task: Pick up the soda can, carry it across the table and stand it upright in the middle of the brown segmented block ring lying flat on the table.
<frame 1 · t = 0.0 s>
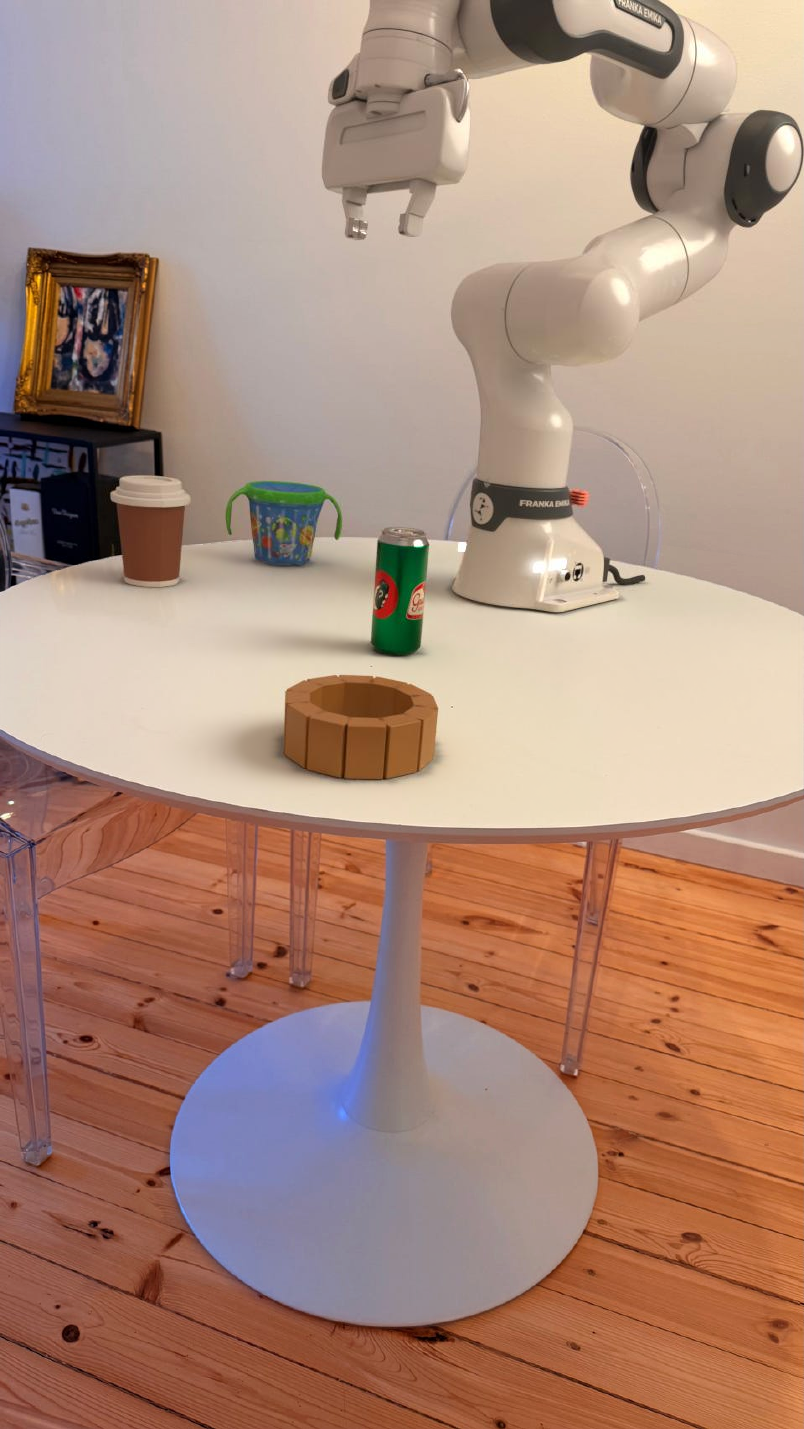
hand: (381, 237, 100), 39 cm above the table, tool pointing down, fingers open, 8 cm apart
soda can: (395, 651, 100), on the table
brown segmented block ring: (358, 748, 75), on the table
coffee cup: (151, 582, 119), on the table
snack cup: (282, 563, 135), on the table
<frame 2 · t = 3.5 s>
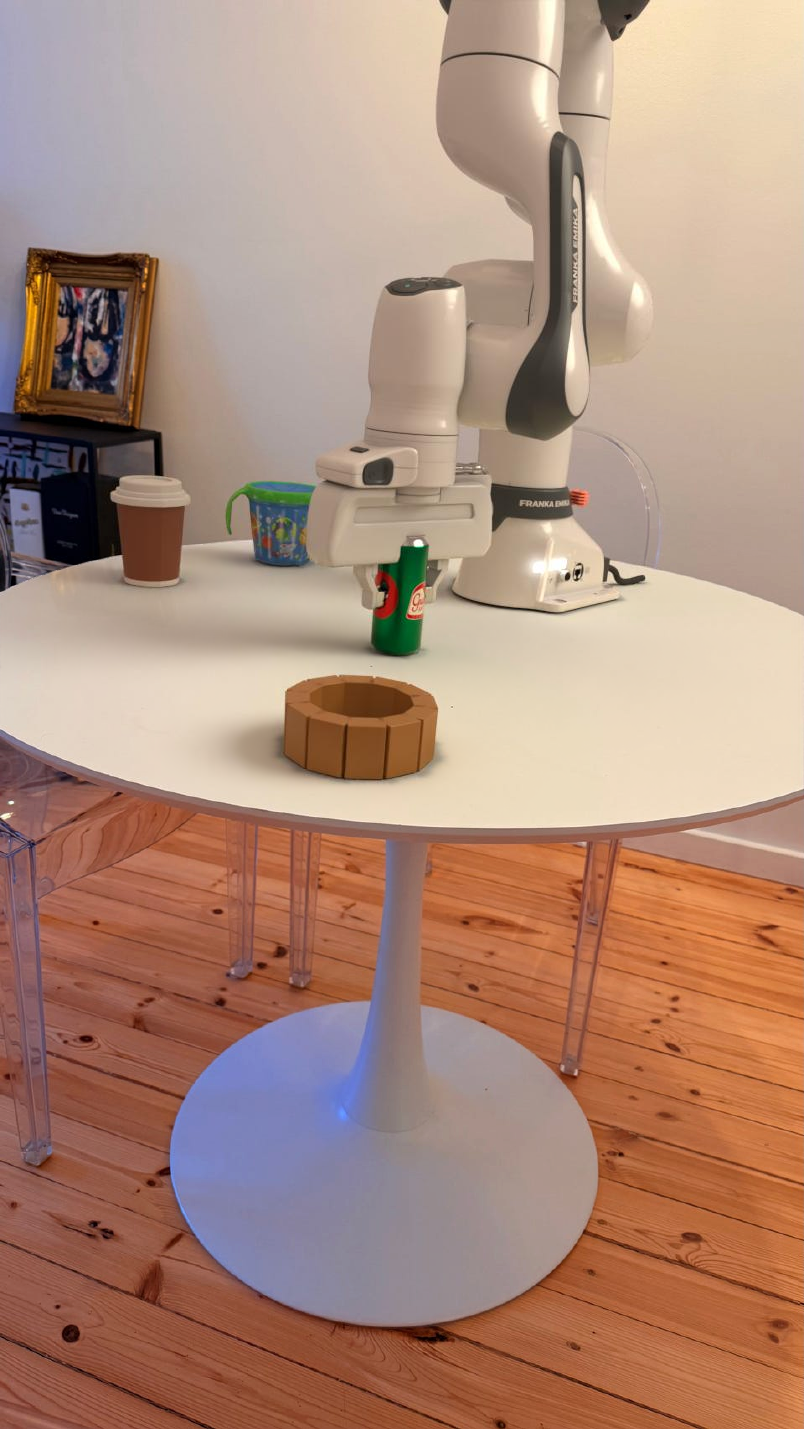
hand: (398, 605, 98), 5 cm above the table, tool pointing down, fingers closed on soda can, 5 cm apart
soda can: (395, 651, 100), on the table, touching gripper
everything else where it was.
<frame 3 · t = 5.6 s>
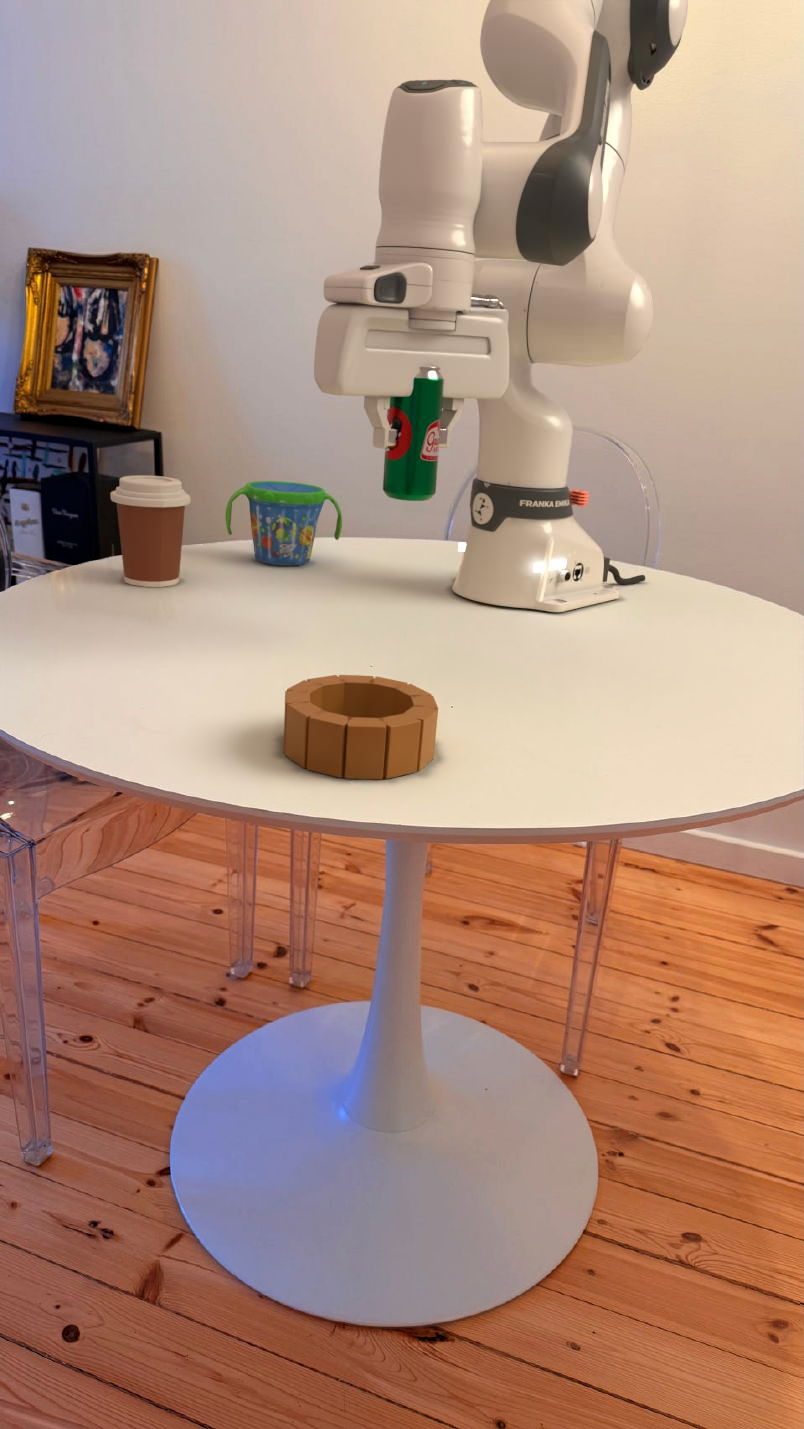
hand: (411, 447, 93), 20 cm above the table, tool pointing down, fingers closed on soda can, 5 cm apart
soda can: (408, 499, 95), point 15 cm above the table, touching gripper
everything else where it was.
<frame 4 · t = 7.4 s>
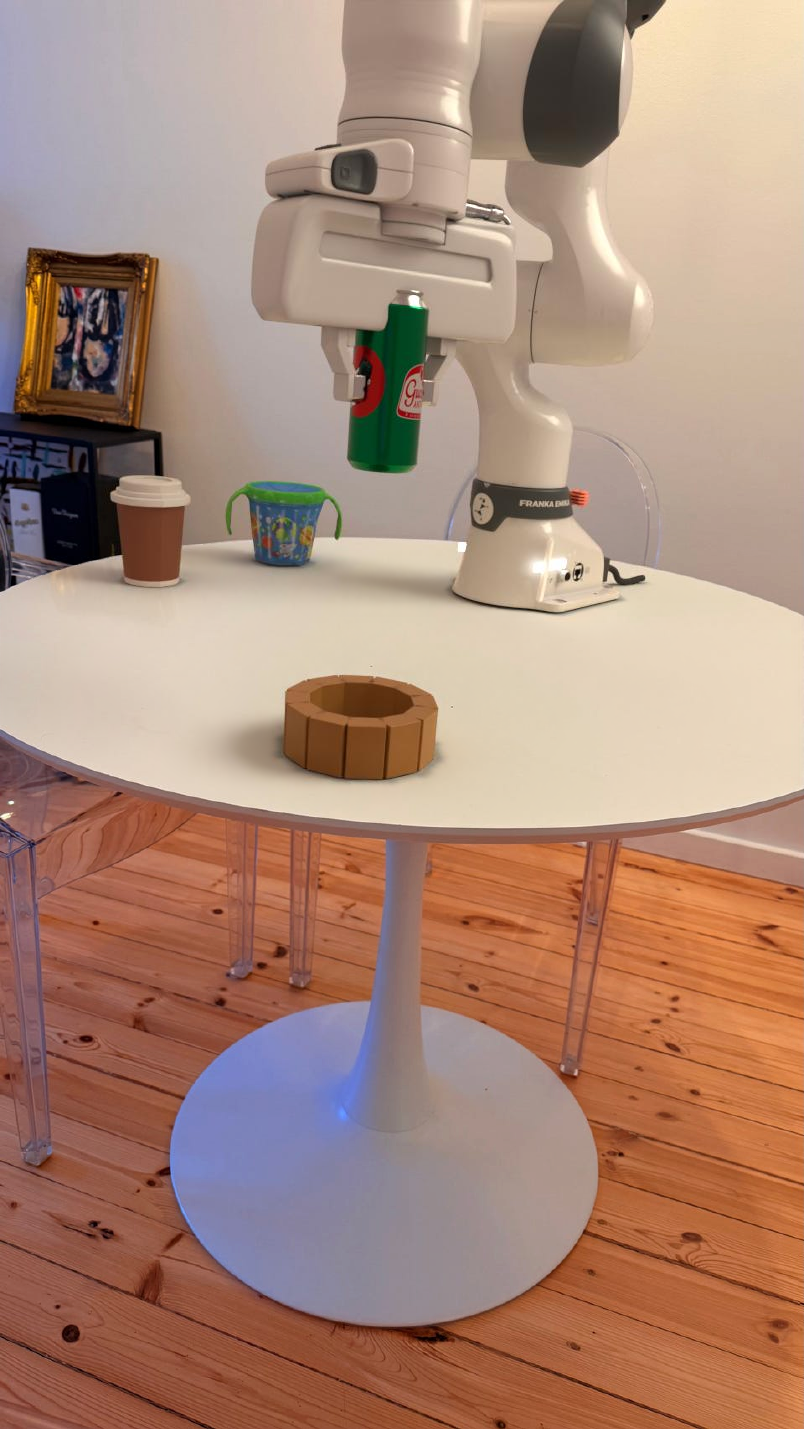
hand: (385, 403, 70), 25 cm above the table, tool pointing down, fingers closed on soda can, 5 cm apart
soda can: (381, 472, 72), point 20 cm above the table, touching gripper
everything else where it was.
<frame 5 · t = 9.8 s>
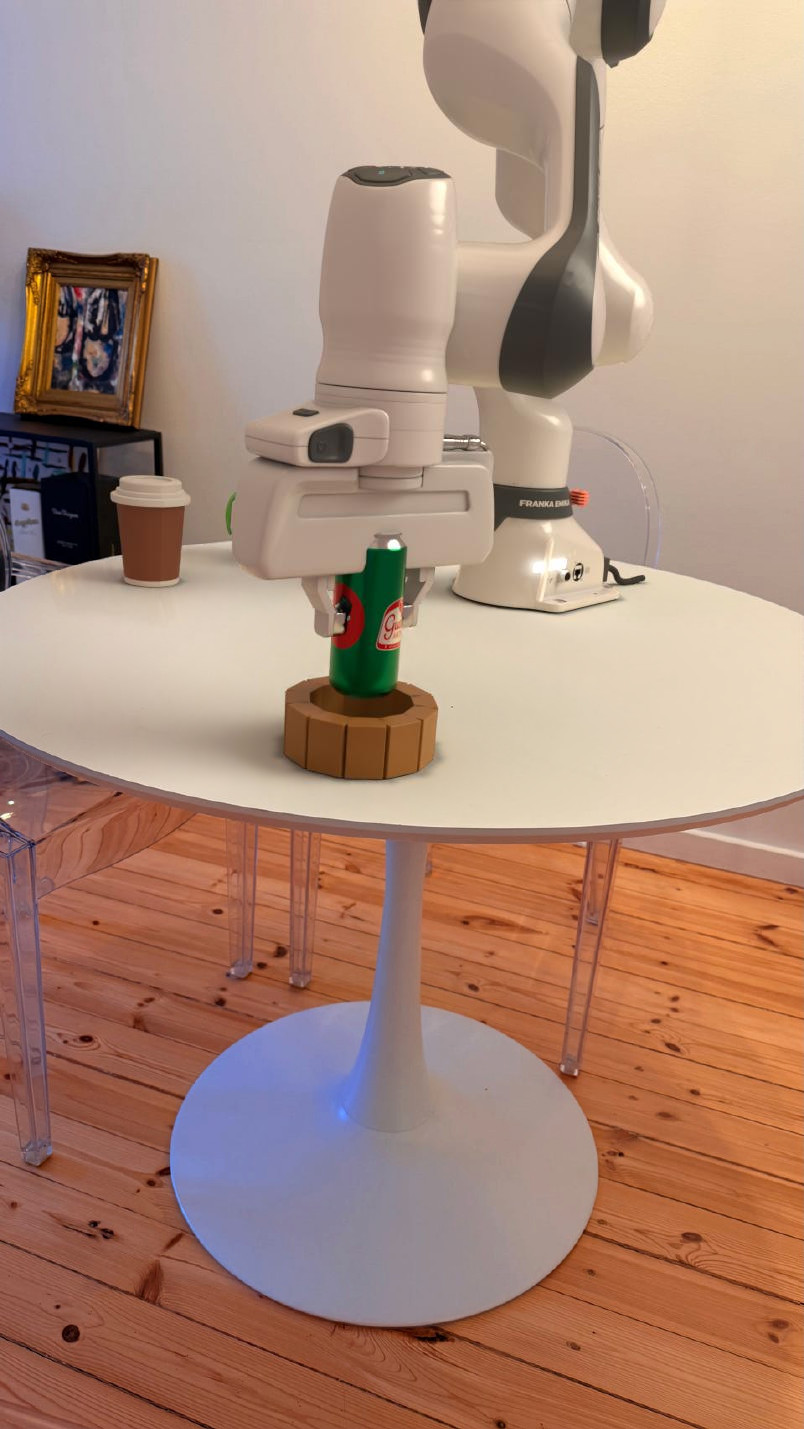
hand: (366, 630, 72), 9 cm above the table, tool pointing down, fingers closed on soda can, 5 cm apart
soda can: (362, 692, 73), point 4 cm above the table, touching gripper
everything else where it was.
when the fingers open (5 cm above the table, at t = 11.6 s): soda can stays where it is, resting in brown segmented block ring.
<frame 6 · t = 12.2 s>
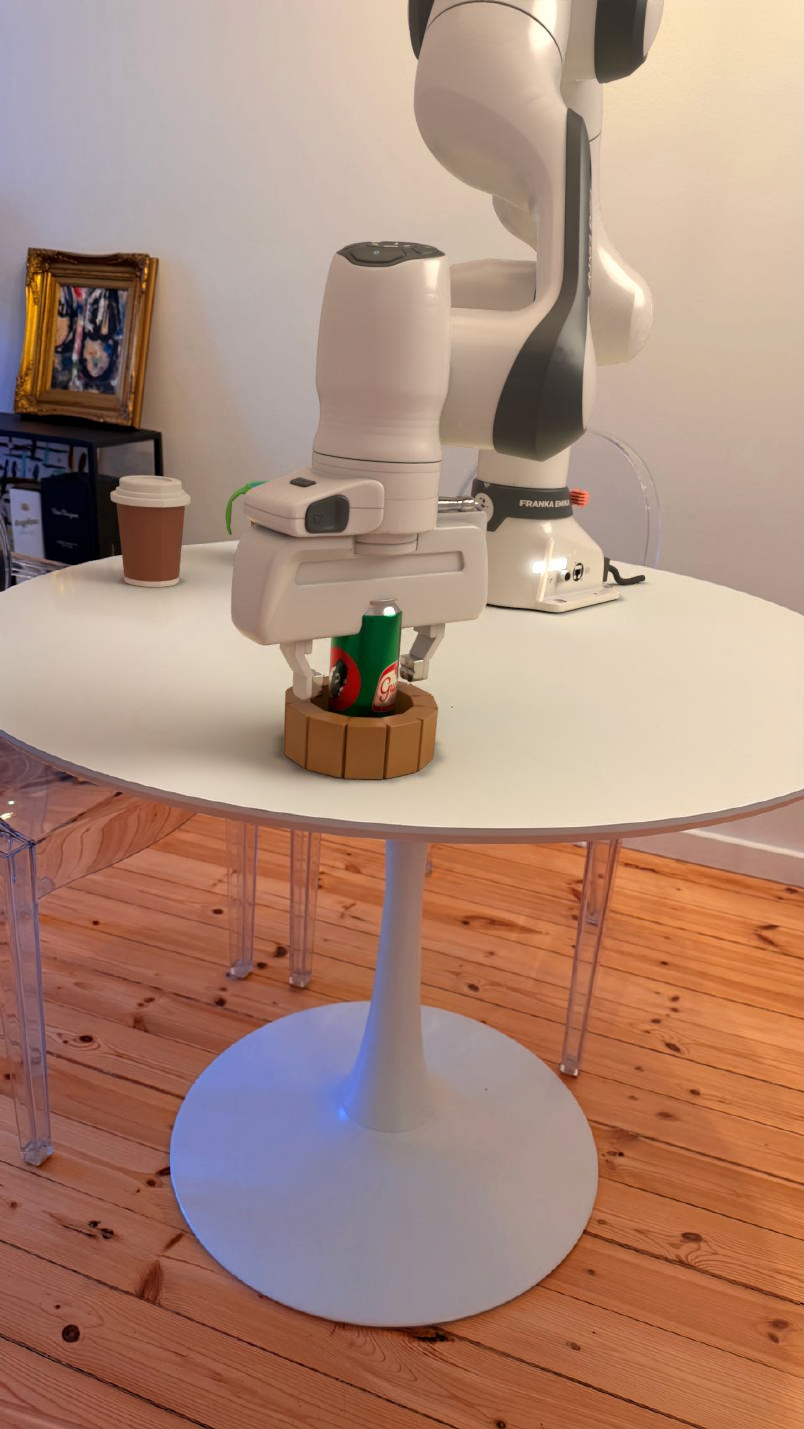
hand: (362, 687, 73), 5 cm above the table, tool pointing down, fingers open, 8 cm apart
soda can: (358, 750, 75), resting in brown segmented block ring
everything else where it was.
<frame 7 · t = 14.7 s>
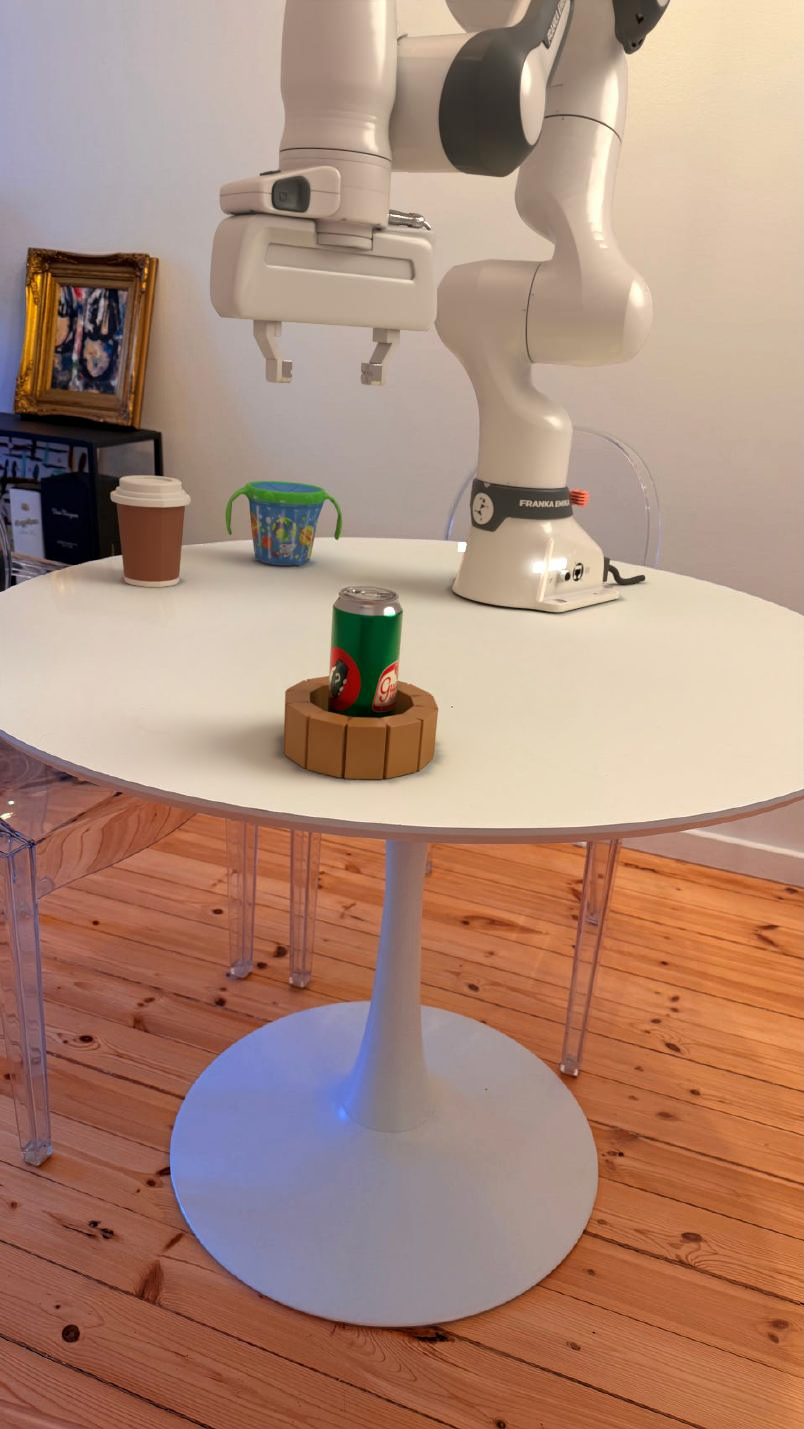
hand: (327, 384, 83), 25 cm above the table, tool pointing down, fingers open, 8 cm apart
nothing on the table moved.
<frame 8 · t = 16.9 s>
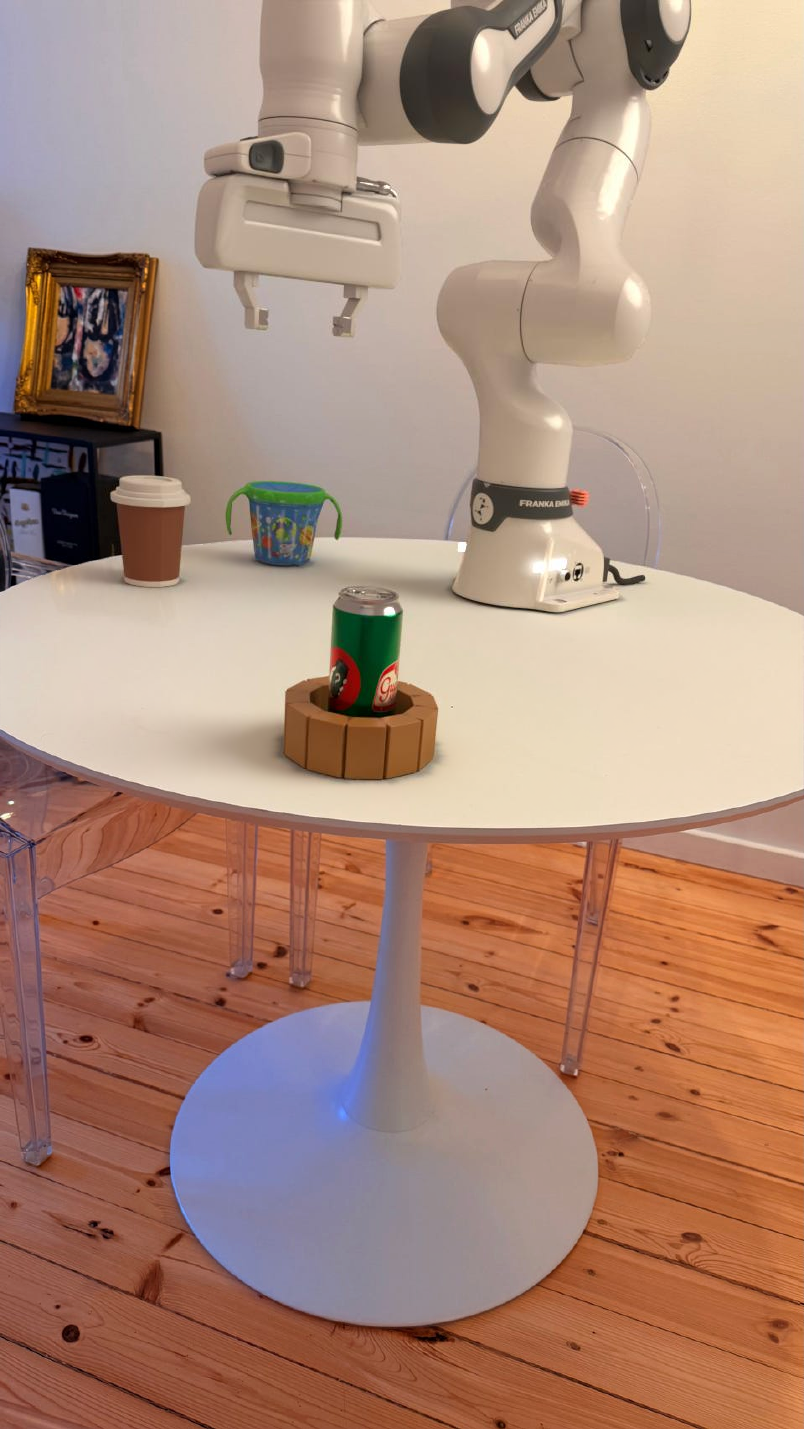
hand: (301, 333, 92), 29 cm above the table, tool pointing down, fingers open, 8 cm apart
nothing on the table moved.
at the end: soda can 0.1 cm off-centre on the brown segmented block ring, point 0.0 cm above the brown segmented block ring's base; soda can tilted 0°; the gripper is holding nothing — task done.
